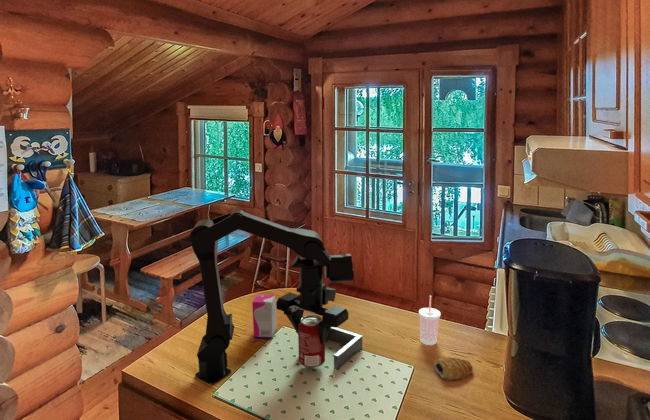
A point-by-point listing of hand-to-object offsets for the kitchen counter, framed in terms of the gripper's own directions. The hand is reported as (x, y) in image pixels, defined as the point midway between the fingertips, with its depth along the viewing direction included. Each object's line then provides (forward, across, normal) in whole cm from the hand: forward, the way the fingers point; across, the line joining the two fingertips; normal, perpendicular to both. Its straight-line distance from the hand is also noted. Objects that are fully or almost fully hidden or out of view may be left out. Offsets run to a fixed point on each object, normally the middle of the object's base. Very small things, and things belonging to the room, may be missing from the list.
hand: (311, 339), depth 112 cm
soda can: (+7, 0, 0) cm, 7 cm away
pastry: (+8, -31, -18) cm, 37 cm away
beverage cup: (+8, -20, -30) cm, 37 cm away
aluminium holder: (+8, 0, -10) cm, 13 cm away
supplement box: (+8, +22, -7) cm, 24 cm away
